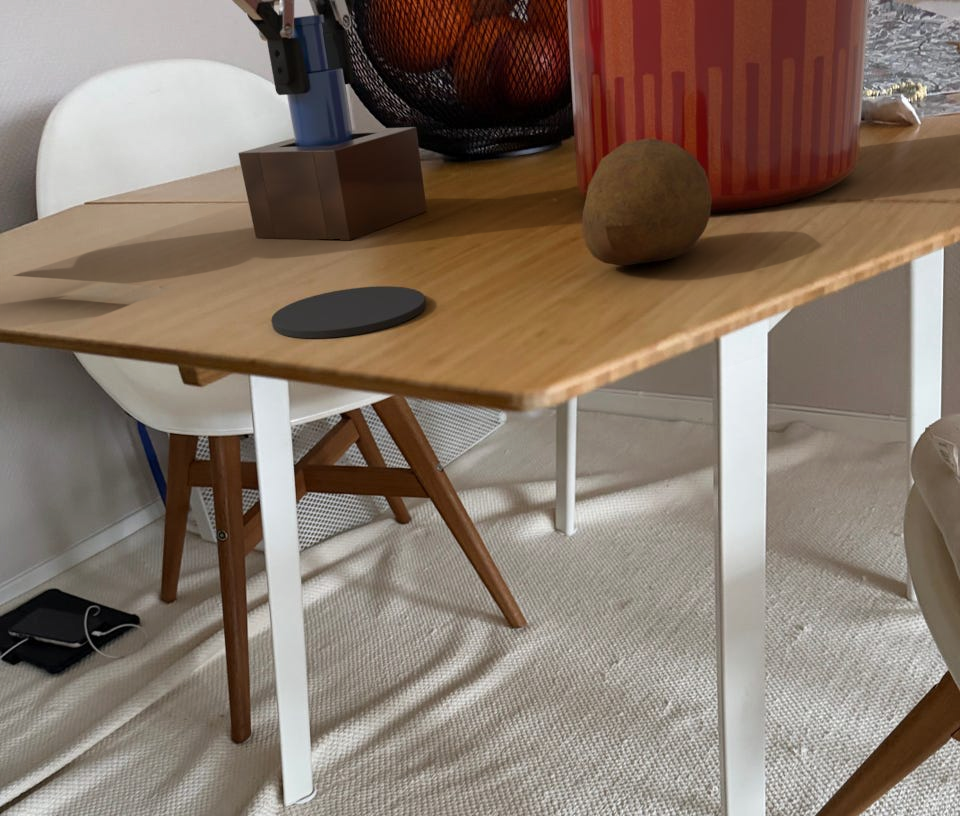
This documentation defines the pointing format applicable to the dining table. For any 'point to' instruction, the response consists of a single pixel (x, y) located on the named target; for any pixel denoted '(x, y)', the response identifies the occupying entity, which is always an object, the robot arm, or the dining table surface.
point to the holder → (334, 185)
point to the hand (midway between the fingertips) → (315, 86)
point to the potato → (645, 203)
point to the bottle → (319, 91)
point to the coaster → (348, 312)
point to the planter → (723, 89)
